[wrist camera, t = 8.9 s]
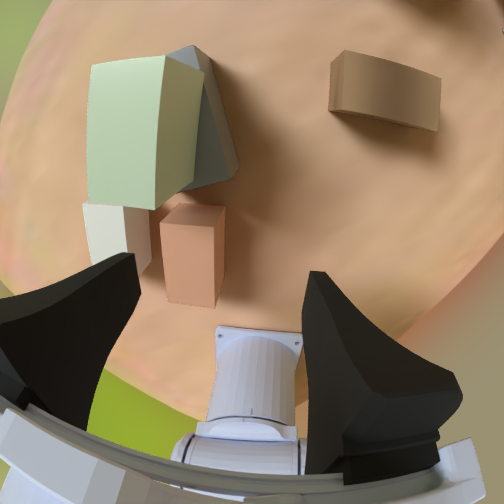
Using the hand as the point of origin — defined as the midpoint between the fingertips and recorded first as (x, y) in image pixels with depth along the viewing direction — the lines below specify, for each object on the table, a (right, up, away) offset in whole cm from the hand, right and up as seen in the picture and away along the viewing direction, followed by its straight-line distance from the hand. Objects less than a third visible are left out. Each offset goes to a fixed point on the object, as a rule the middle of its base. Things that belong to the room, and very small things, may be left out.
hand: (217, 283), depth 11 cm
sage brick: (-3, +8, +2) cm, 9 cm away
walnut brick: (+9, +12, +4) cm, 15 cm away
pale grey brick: (-8, +3, +10) cm, 13 cm away
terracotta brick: (-2, +2, +10) cm, 10 cm away
